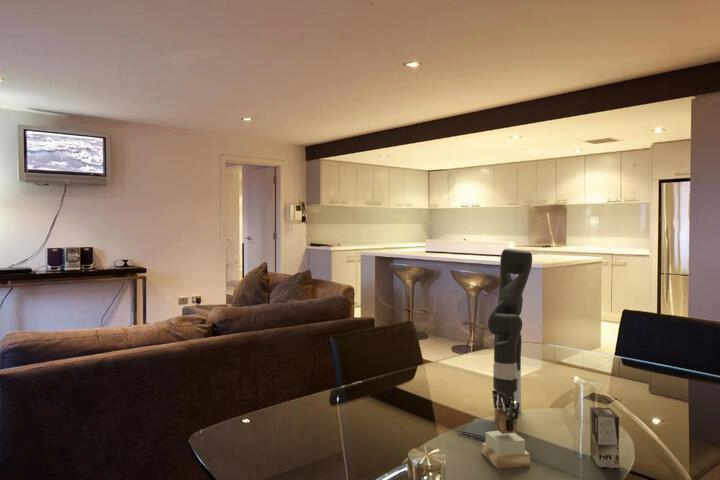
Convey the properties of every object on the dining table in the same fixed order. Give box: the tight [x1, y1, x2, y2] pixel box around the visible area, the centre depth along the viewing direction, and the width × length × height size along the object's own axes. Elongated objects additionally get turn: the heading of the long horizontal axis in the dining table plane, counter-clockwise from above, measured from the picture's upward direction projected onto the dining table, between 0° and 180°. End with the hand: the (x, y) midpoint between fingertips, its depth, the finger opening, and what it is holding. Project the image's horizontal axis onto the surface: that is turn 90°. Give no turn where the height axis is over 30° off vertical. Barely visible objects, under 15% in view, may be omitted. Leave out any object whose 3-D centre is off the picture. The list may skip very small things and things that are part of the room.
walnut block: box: [494, 409, 518, 434], centre depth 155 cm, size 5×5×6 cm
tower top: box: [485, 431, 526, 456], centre depth 154 cm, size 9×9×4 cm
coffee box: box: [589, 406, 620, 468], centre depth 152 cm, size 9×6×16 cm
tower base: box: [481, 442, 531, 469], centre depth 155 cm, size 11×11×4 cm
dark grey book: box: [460, 417, 498, 443], centre depth 178 cm, size 20×2×15 cm
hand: (505, 427), depth 154 cm, fingers closed on walnut block, 5 cm apart
